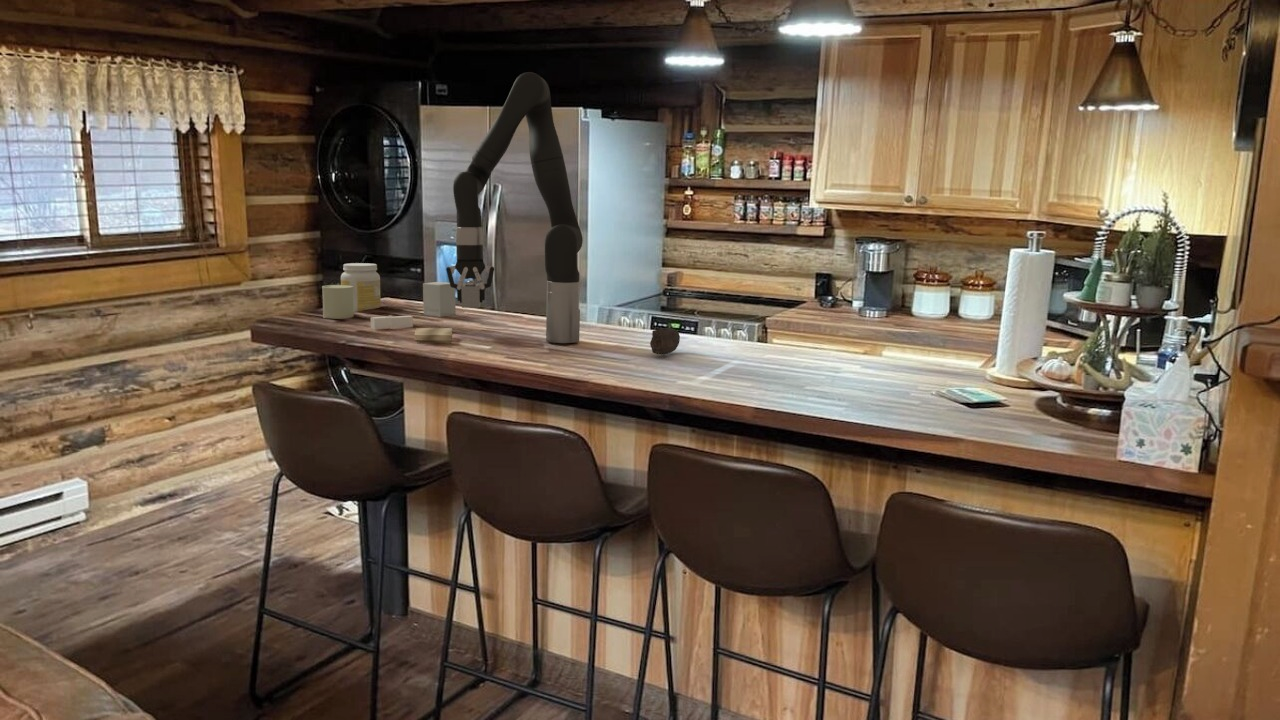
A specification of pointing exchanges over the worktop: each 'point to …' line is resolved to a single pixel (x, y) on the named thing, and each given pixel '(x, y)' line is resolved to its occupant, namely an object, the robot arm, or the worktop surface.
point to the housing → (470, 295)
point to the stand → (434, 335)
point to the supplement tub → (363, 285)
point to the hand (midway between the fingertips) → (471, 302)
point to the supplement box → (439, 299)
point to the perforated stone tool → (664, 340)
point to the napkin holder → (391, 322)
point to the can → (337, 301)
